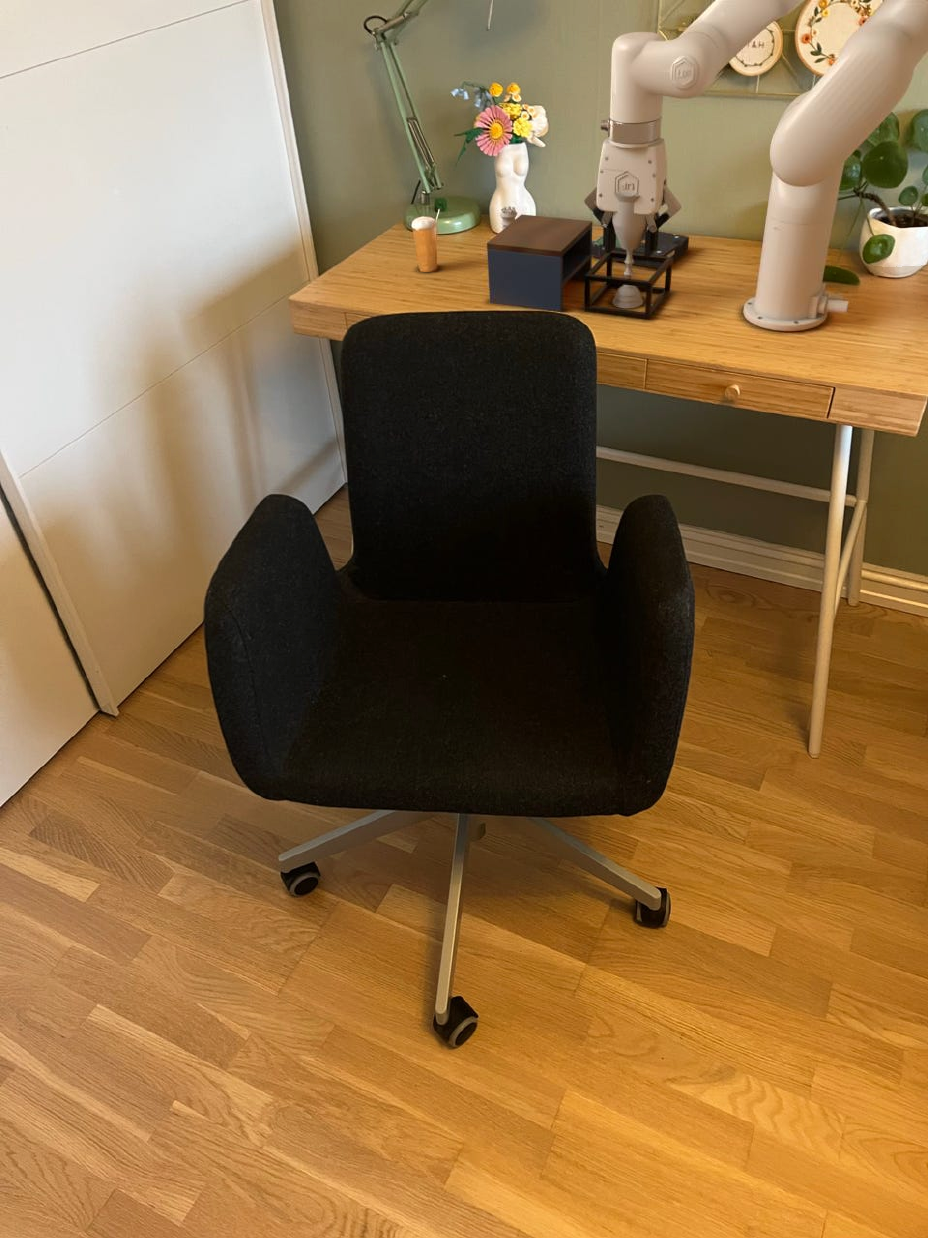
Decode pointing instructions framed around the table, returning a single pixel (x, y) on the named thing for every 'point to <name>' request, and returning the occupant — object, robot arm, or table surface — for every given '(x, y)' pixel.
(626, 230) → the chalice
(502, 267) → the shelf
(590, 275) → the cup rack
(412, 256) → the table surface
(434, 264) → the milkshake
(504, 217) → the rook chess piece
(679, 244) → the disk drive
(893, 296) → the table surface
